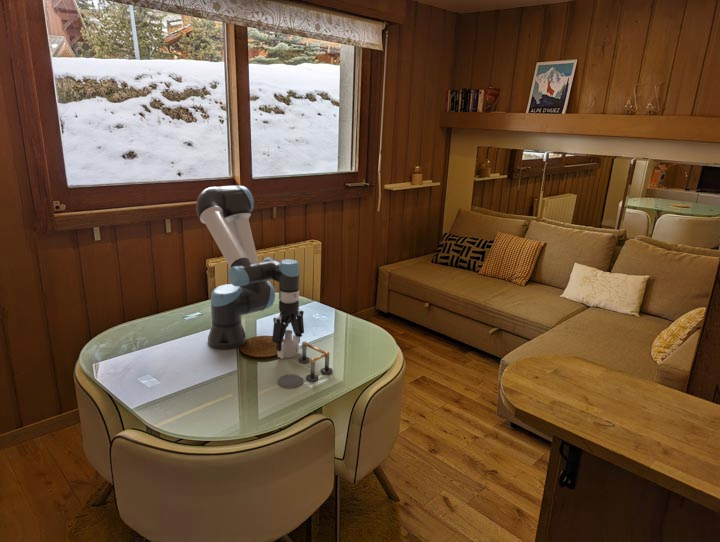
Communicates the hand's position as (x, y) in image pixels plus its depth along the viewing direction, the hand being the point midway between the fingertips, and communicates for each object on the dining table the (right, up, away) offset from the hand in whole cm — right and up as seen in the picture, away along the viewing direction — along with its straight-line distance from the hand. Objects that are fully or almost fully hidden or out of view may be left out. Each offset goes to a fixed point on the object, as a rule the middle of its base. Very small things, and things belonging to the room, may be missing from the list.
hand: (288, 354), depth 196 cm
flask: (0, 0, 0) cm, 0 cm away
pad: (+4, -7, -19) cm, 21 cm away
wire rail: (+9, -4, -10) cm, 14 cm away
